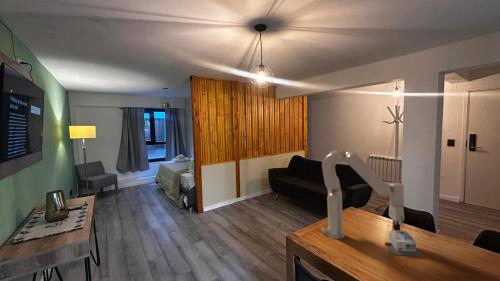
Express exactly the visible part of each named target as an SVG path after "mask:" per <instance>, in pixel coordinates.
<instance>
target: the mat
mask: <svg viewBox="0 0 500 281" xmlns="http://www.w3.org/2000/svg"><path fill="white" fill-rule="evenodd" d="M385 247H387V249H388V250H389V251H390V253H391V254H392V255H393V256H409V257H410V256H411V257H424V255H423V254H422V253H421V252H420V251H419V250H418V249H417V248H416V252H403V251H396V249H395V248H394V246H387V245H385Z"/></svg>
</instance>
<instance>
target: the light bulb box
mask: <svg viewBox="0 0 500 281" xmlns="http://www.w3.org/2000/svg"><path fill="white" fill-rule="evenodd" d="M388 242H391V244H392V245H393V246H394V248H395V249H396V251H403V252H416V249H417V242H416V240H415V239H414V238H413V237H412V236H411V235H410V233H408V232H407V231H406V230H405V231H401V230H400V231H397V230H389V232H388Z"/></svg>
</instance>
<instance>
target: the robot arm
mask: <svg viewBox="0 0 500 281" xmlns="http://www.w3.org/2000/svg"><path fill="white" fill-rule="evenodd" d="M321 162H322V163H321V169H322V175H323V180H324V185H325V187H326V188H327V189H326V190H327V198H326V201H327V202H326V203H327V223H328V225H327V227H325V228H324V227H321V231H322V232H324V233H326V235H327V236H328V237H330V238H332V239H336V240H339V239H340V240H341V239H344V238H345V237H346V233H345V232H344V231H343V230H344V229H343V227H344V226H343V195H342V194H343V193H342V189H341V184H340V183H341V182H340V179H339V177H338V176H337V171H336V165H337V164H338V163H339V162H340V163H346V164H348V165H349V167H351V168H352V169H353V170H354V171H355V172H356V173H357V174H358V175H359V176H360V177H361V178H362V179H363V180H364V181H365V182H366V183H367V185H369V186H370V187H371V188H372V189H373V190H374V191H375V192H376V193H377V194H378V195H380V196H381V197H388V196H389V203H388V204H389V207H388V216H389V218H391V219H392V227H393V231H401V225H403V222H404V220H405V212H404V210H405V209H404V206H405V203H404V202H405V198H404V197H405V188H404V185H403V183H400V182H388V181H383V180H382V178H380V177H379V176H378V174H377V173H376V172H375V171H374V169H373V168H372V167H371V166H370V165H369V164H368V163H366V161H364V160H363V159H362V157H360V156H359V155H358V153H357V152H355V151H352V150H351V151H350V150H338V149H337V150H331V151H330V152H329V153H328V154H327V155H326V156H325V157H324V158H323V160H322V161H321Z"/></svg>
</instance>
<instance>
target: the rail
mask: <svg viewBox="0 0 500 281" xmlns="http://www.w3.org/2000/svg"><path fill="white" fill-rule="evenodd" d="M384 245H385V246H386V245H387V246H393V245H392V244H391V242H390V241H385V242H384Z"/></svg>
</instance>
